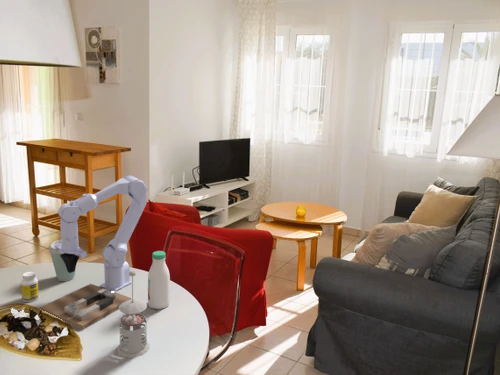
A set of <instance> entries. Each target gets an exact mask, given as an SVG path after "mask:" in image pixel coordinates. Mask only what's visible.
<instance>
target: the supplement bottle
mask: <svg viewBox="0 0 500 375" xmlns="http://www.w3.org/2000/svg"><path fill="white" fill-rule="evenodd" d="M38 280H39V279H38V277H36V272H34V271H26V272H24V273H23V274H22V279H21V281H20V288H21V289H20V290H21V291H20V292H21V300H22V302H25V303H31V302H35V301H38V299H39V281H38Z"/></svg>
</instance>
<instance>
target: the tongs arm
mask: <svg viewBox="0 0 500 375" xmlns="http://www.w3.org/2000/svg"><path fill="white" fill-rule="evenodd" d="M116 293H117V291H116V290H115V289H105V288H104V289H102V290H100V291H97V292H94V293H92V294H90V295H88V296H86V297H84V298H83V299H81V300H78V301H76V302H74V303H72V304H70V305H68V306H66V307H64V312H65V313H67V314H69V315H71V316H73V315H74V312H75V311H76V310H78V309H80V308H82V307H84V306H86V305H89V304H91V303H93V302H95V301H97V300H99V299H101V298H103V297H104V298H107V297H111V298H113V299H114V298H116Z"/></svg>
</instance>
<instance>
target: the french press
mask: <svg viewBox="0 0 500 375" xmlns="http://www.w3.org/2000/svg"><path fill="white" fill-rule="evenodd" d="M136 275H137V273H136V271H135V270H130V272H129V276H130V277H131V282H132V283H131V300H128V301H125V302H124V303H122V304H121V305H120V306H119V309H118V310H119V311H120V312H121V313H122V314H123V316H122V317H121V318H120V322H119V344H118V345H117V347H116V352H117V354H118V355H119V356H121V357H123V358H128V359H131V358H137V357H138V358H139V357H141V356H143V355H145V354H146V353H148V352H149V350H150V348H151V345H150V343H149V341H148V340H147V336H148V335H147V334H148V333H147V332H148V331H147V328H148V327H147V324H148V323H147V322H148V321H147V320H146V316H145V314H143V313H142V312H145V310H147V307H148V303H146V302H145V301H144V300H140V299H137V298H136V299H134V276H136ZM131 327H132V330H131Z"/></svg>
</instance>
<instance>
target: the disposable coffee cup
mask: <svg viewBox="0 0 500 375" xmlns="http://www.w3.org/2000/svg"><path fill="white" fill-rule="evenodd" d="M59 243H60V244H61V239H58V240H55V241H53V242H52V243H50V245H49V247H48V252H49V253H50V257H51V260H52V263H53V264H52V265H53V267H54V272H55V276H56V279H57V281H60V282H68V281H71V280H73V279H74V278H75V275H76V268H77V267H76V268H75V271H74V272H72V273H69V272H68V271H67V268H66V265H65V263H64V261H63V259H62V258H61V257H60V255H61V254H62V253H60V252H59V251H60V250H55V245H56V244H59Z"/></svg>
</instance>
